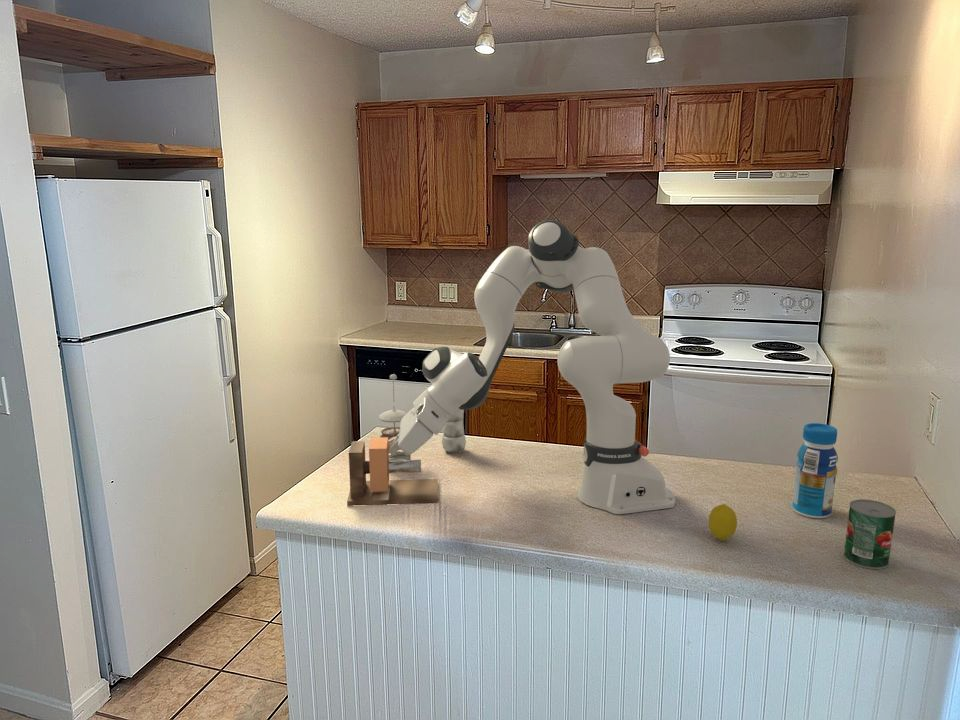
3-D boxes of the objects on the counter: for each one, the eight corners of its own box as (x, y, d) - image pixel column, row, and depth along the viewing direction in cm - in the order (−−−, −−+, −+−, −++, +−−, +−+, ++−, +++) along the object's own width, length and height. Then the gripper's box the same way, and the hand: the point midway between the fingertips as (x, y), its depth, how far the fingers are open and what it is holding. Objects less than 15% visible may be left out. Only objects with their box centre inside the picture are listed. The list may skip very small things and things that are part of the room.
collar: (389, 478, 174) (388, 437, 172) (387, 491, 166) (386, 448, 164) (372, 478, 174) (371, 437, 171) (370, 491, 166) (368, 449, 164)
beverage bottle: (784, 504, 165) (792, 421, 161) (818, 503, 166) (828, 421, 161) (803, 520, 157) (812, 433, 152) (840, 519, 158) (850, 432, 153)
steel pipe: (421, 469, 172) (420, 457, 171) (421, 474, 169) (420, 462, 168) (358, 471, 170) (357, 459, 170) (356, 476, 167) (356, 463, 167)
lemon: (720, 548, 144) (723, 511, 142) (701, 537, 149) (704, 501, 147) (741, 543, 146) (744, 507, 145) (722, 532, 151) (725, 497, 150)
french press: (377, 460, 193) (374, 370, 188) (420, 458, 195) (418, 369, 189) (376, 473, 184) (373, 379, 178) (421, 471, 185) (419, 378, 180)
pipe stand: (437, 483, 177) (437, 436, 175) (438, 503, 166) (437, 453, 163) (352, 485, 176) (350, 438, 173) (347, 506, 164) (345, 455, 162)
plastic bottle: (463, 456, 196) (462, 385, 192) (439, 454, 198) (438, 384, 193) (468, 448, 203) (467, 380, 198) (445, 446, 204) (444, 378, 200)
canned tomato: (840, 547, 145) (846, 497, 142) (883, 553, 142) (890, 501, 140) (847, 566, 137) (854, 513, 135) (893, 572, 135) (901, 518, 133)
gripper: (421, 389, 177) (383, 428, 178) (421, 414, 157) (377, 457, 158) (440, 406, 178) (401, 445, 179) (441, 433, 158) (398, 475, 159)
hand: (390, 451), depth 169 cm, fingers closed
